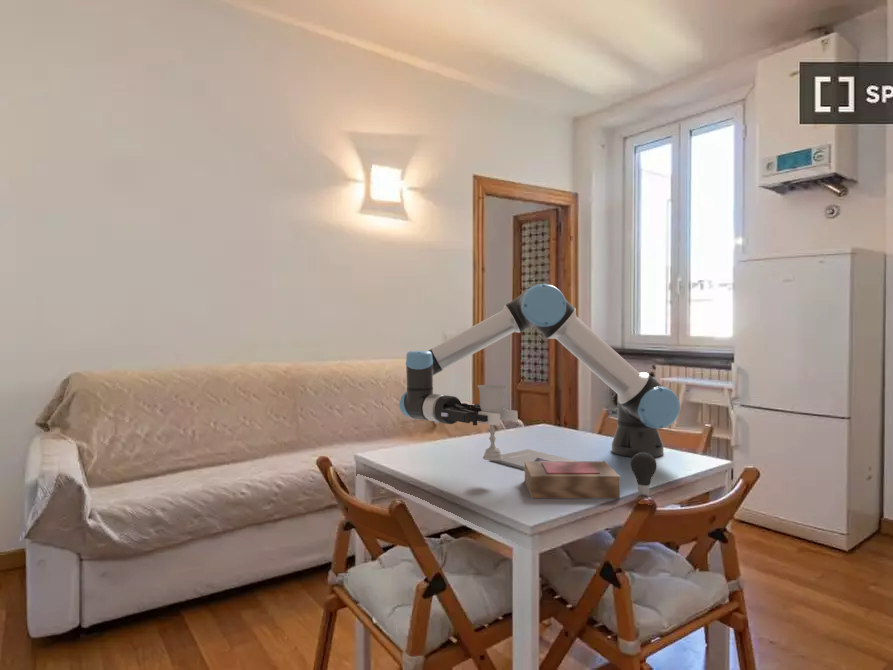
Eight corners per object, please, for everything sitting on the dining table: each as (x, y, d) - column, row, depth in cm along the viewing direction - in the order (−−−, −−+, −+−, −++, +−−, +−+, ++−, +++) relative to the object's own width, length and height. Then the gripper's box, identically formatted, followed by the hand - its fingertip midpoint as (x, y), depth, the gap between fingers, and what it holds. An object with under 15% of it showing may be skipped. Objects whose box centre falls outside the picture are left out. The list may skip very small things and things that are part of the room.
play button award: (528, 449, 173) (580, 461, 158) (528, 454, 173) (580, 467, 158) (489, 457, 164) (540, 471, 148) (489, 462, 164) (540, 476, 148)
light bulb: (638, 500, 126) (638, 455, 125) (626, 492, 131) (626, 450, 131) (661, 498, 126) (661, 454, 126) (648, 491, 132) (648, 449, 132)
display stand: (604, 481, 141) (604, 460, 141) (619, 498, 127) (619, 475, 127) (524, 481, 142) (524, 460, 142) (531, 498, 128) (531, 474, 128)
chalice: (512, 457, 140) (511, 385, 140) (496, 462, 135) (495, 388, 134) (489, 453, 145) (488, 384, 144) (472, 458, 140) (471, 386, 139)
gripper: (467, 418, 159) (532, 428, 142) (417, 427, 146) (481, 439, 129) (467, 392, 159) (531, 398, 142) (416, 398, 146) (481, 407, 129)
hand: (507, 418), depth 136 cm, fingers closed on chalice, 6 cm apart
